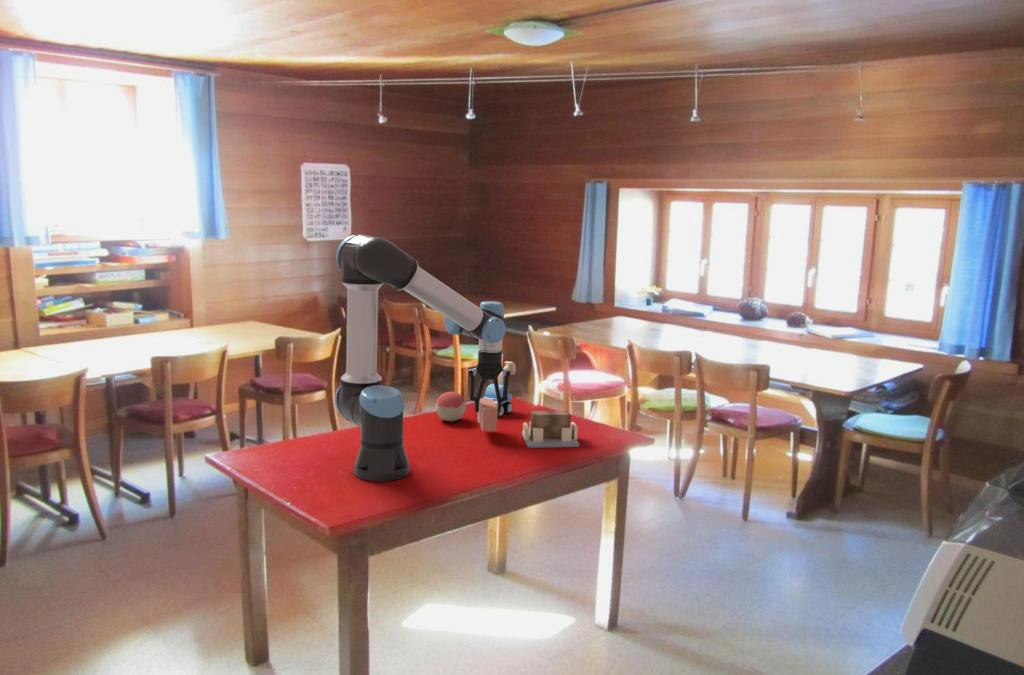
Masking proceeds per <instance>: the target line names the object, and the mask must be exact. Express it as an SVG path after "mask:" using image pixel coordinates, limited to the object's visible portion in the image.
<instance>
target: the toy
mask: <svg viewBox="0 0 1024 675" xmlns="http://www.w3.org/2000/svg"><path fill="white" fill-rule="evenodd" d="M466 409H467V406H466V400H465V398H464V397H463V396H462V395H461V394H460V393H459V392H457V391H447V392H444V393H442V394H441V395H440V396H439V397H438V398H437V400H436V404H435V410H436V413H437V416H438V417H439V418H440V419H442V420H443V421H447V422H455V421H458V420H460V419H462V418H463V416H464V414H465V412H466Z"/></svg>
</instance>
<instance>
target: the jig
mask: <svg viewBox="0 0 1024 675" xmlns="http://www.w3.org/2000/svg"><path fill="white" fill-rule="evenodd" d="M528 424H529V425H528ZM530 426H531V420H530V421H529V423H527V422H523V423H522V431H521V435H522V437H523V440H524V441H525V444H526V446H527V448H533V449H534V448H575V447H576V448H579V447H580V443H579V442H578V433H579V432H578V431H579V427H578V425H577V424H576V423H575V422H574V421H571V422H570V428H561V439H543V428H533V440H532V438H531V436H530Z"/></svg>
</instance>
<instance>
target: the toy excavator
mask: <svg viewBox="0 0 1024 675" xmlns="http://www.w3.org/2000/svg"><path fill="white" fill-rule="evenodd" d="M503 368H504V369H506V370H507V369H508V370H510V372H511V373H510V375H515V374H516V371H517V369H516V368H517V366H516V363H515V362H514V361H507V360H506V361H504V367H503ZM503 381H504V376H503V372H501V373H500V375H499V376H498V385H499V390H500V396H501V397H503ZM482 399H493V401H494V403H495V401H497V397H496V392H495V387H494V383H491V384H489V385H488V386H487V387H486V389H485V394H484V396H483V398H482ZM512 400H513V394H511V393H508V394H507V401H503V402H502V403H501V412H498V413H497V417H499V418H500V417H501V416H503V415H504V413H507V414H511V413H512V411H513V408H514V407H513V406H514V404H513V402H512Z"/></svg>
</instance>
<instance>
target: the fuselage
mask: <svg viewBox="0 0 1024 675" xmlns="http://www.w3.org/2000/svg"><path fill="white" fill-rule="evenodd" d="M571 416H572V415H571V413H570V412H569V410H531V411H530V421H531V426H530V436H531V438H532V440H533V428H543V439H561V428H571V422H572V421H571V418H572V417H571Z"/></svg>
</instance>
